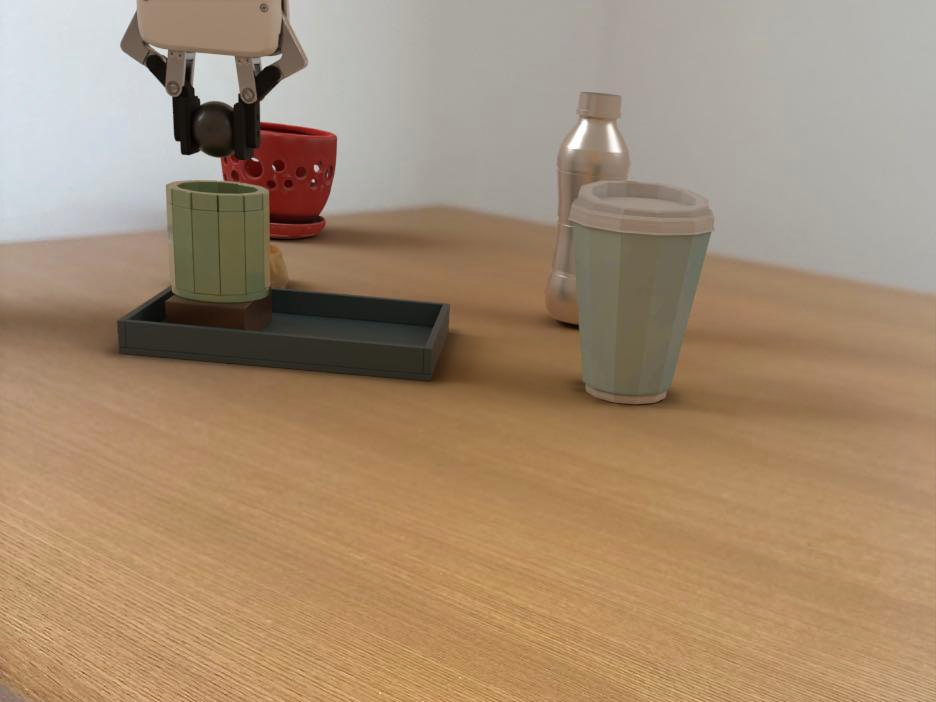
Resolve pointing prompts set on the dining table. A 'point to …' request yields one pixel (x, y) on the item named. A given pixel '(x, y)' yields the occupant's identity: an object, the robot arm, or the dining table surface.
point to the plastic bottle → (579, 163)
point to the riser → (220, 313)
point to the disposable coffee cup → (636, 283)
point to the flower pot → (290, 176)
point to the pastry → (277, 268)
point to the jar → (218, 240)
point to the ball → (213, 129)
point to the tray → (304, 335)
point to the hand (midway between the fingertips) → (218, 153)
